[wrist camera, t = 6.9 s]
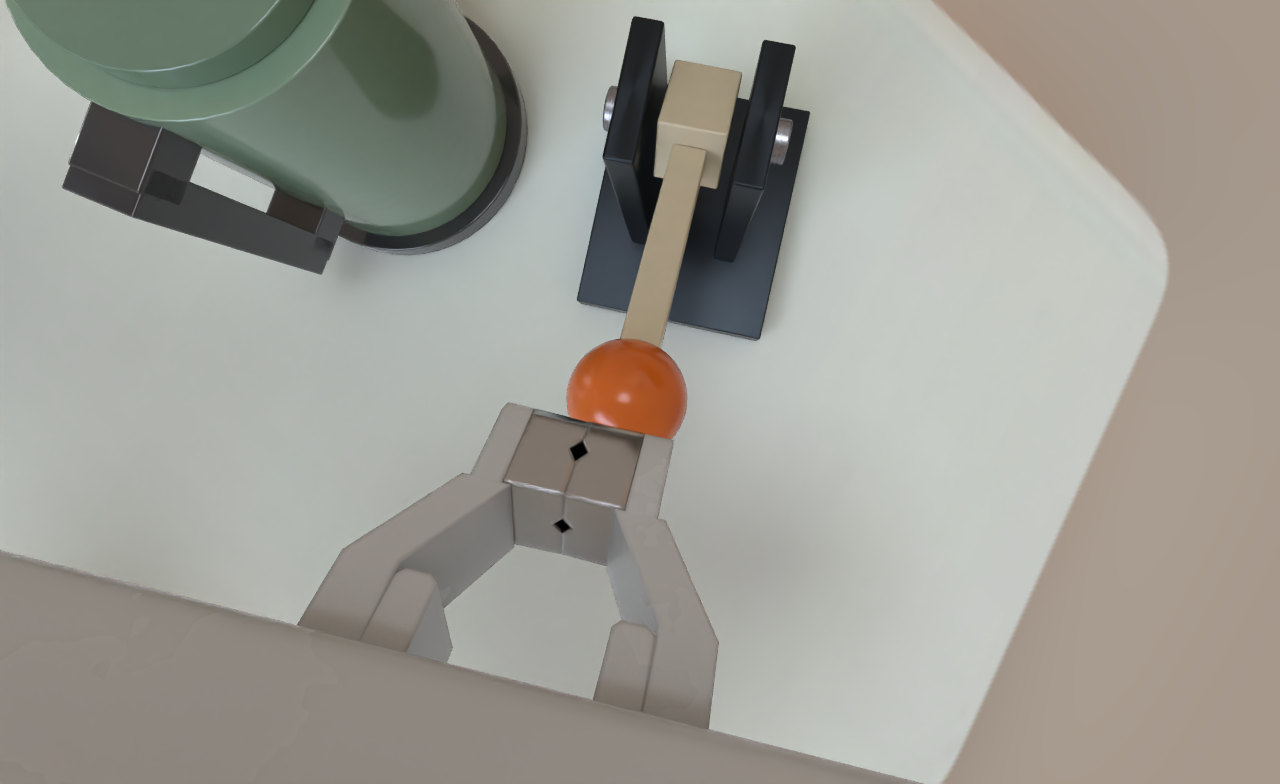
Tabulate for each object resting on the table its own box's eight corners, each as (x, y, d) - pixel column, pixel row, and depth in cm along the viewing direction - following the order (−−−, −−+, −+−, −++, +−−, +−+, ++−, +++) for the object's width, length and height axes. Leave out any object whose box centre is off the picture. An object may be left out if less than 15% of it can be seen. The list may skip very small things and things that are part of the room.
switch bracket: (756, 341, 32) (806, 312, 19) (580, 303, 33) (515, 251, 20) (805, 121, 32) (888, -54, 19) (626, 87, 32) (591, -107, 20)
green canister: (459, 326, 33) (201, 259, 15) (242, 236, 34) (-245, 73, 16) (588, 2, 33) (476, -459, 15) (364, -83, 33) (0, -620, 15)
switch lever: (669, 485, 18) (679, 447, 15) (557, 459, 18) (546, 418, 15) (743, 140, 23) (760, 62, 20) (655, 123, 23) (660, 44, 21)
